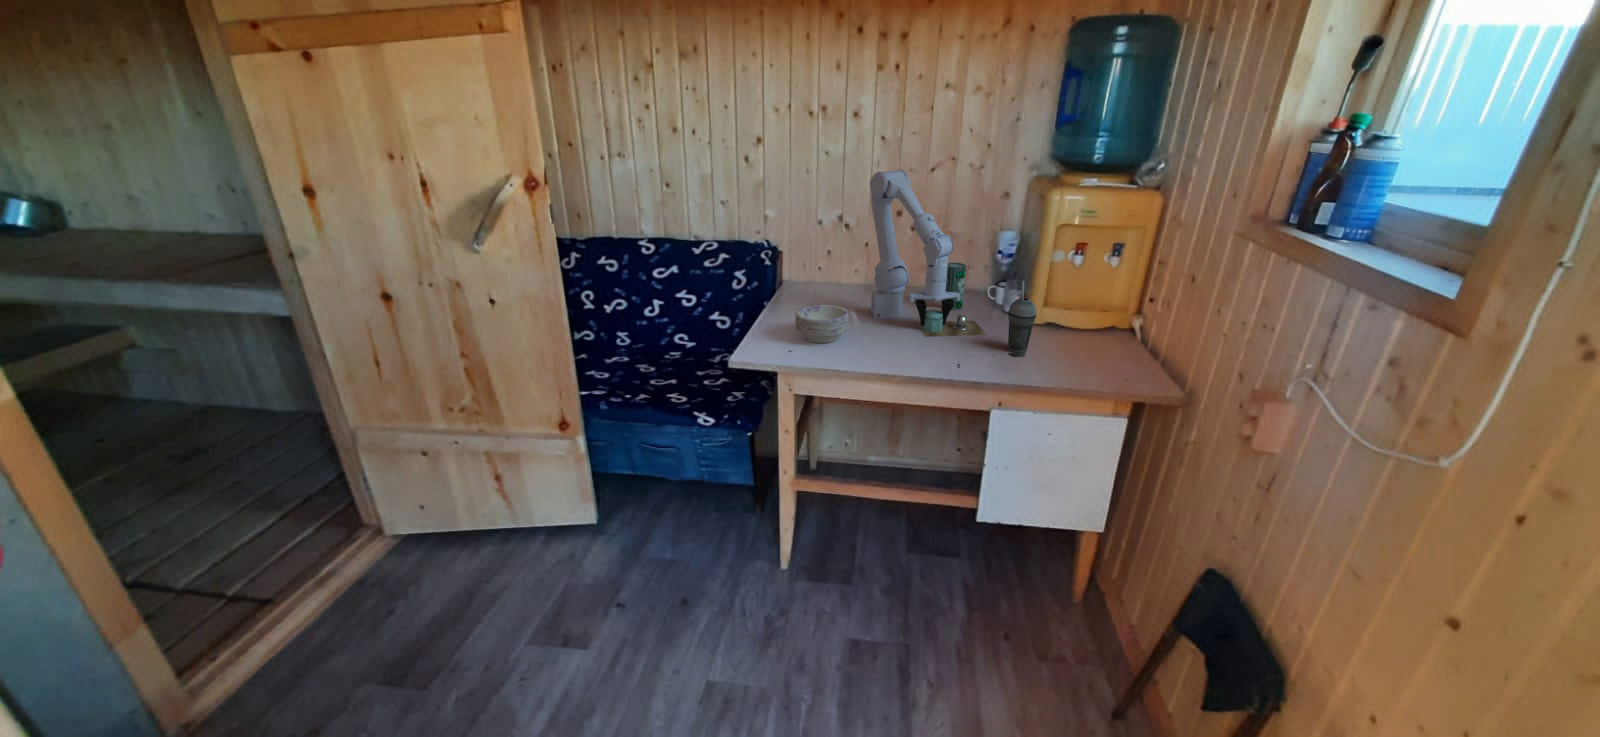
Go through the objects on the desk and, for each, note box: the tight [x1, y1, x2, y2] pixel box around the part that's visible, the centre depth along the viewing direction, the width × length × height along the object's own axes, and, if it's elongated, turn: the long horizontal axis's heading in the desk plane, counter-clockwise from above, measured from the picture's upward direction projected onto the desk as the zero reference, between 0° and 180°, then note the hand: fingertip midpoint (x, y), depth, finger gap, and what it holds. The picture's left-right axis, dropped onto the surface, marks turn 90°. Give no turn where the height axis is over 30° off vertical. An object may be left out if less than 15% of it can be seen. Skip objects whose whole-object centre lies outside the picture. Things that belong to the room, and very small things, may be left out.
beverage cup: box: [1007, 280, 1038, 358], centre depth 173 cm, size 7×7×20 cm
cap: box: [922, 309, 943, 332], centre depth 190 cm, size 5×5×5 cm
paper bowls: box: [794, 304, 850, 344], centre depth 187 cm, size 15×15×8 cm
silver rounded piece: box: [953, 314, 968, 331], centre depth 191 cm, size 4×4×4 cm
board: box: [914, 319, 988, 338], centre depth 192 cm, size 18×12×1 cm, turn 95°
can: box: [945, 262, 967, 311], centre depth 207 cm, size 6×6×15 cm
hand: (932, 324), depth 191 cm, fingers closed on cap, 5 cm apart
